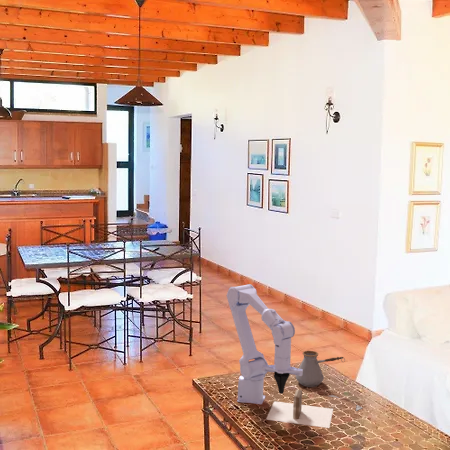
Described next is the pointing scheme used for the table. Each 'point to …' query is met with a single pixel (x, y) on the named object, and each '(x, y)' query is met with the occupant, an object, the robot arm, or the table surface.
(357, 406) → the handheld gaming device
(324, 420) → the mat
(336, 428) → the table surface
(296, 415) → the tile
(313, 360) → the coffee pot
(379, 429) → the table surface
